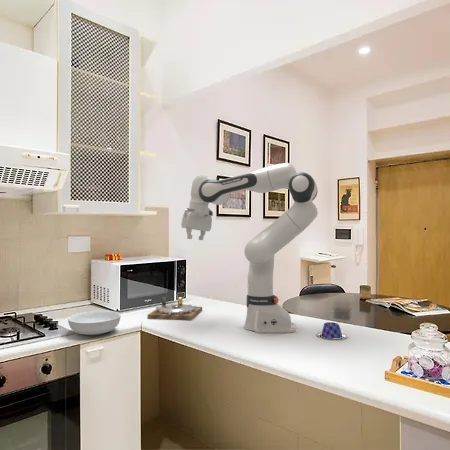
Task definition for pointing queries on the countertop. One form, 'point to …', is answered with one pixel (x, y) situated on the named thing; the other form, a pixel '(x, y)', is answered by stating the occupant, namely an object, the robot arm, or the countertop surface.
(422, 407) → the countertop surface
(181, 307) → the sprocket
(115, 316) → the serving bowl
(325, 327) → the purple domed brimmed piece
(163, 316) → the index board
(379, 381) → the countertop surface
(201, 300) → the countertop surface
